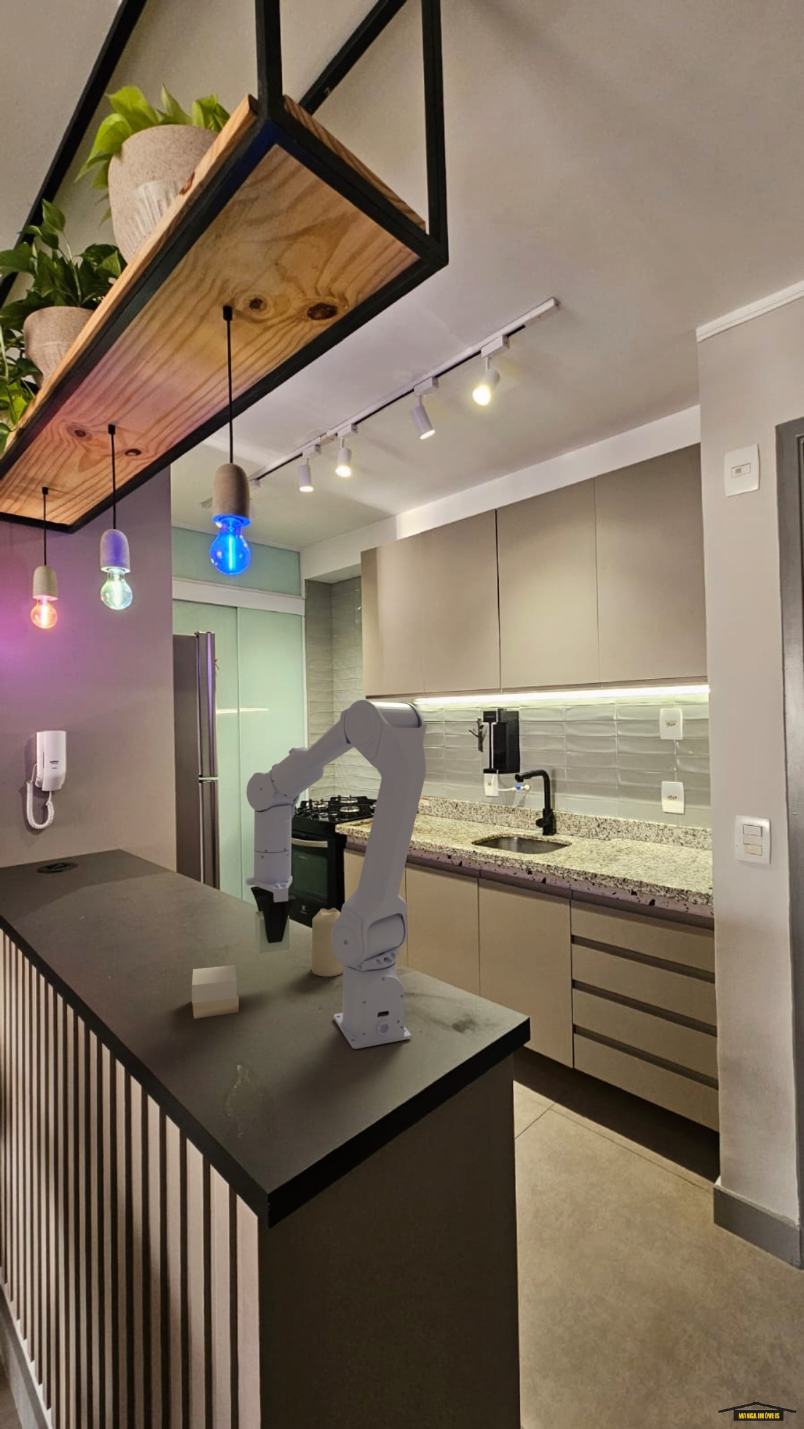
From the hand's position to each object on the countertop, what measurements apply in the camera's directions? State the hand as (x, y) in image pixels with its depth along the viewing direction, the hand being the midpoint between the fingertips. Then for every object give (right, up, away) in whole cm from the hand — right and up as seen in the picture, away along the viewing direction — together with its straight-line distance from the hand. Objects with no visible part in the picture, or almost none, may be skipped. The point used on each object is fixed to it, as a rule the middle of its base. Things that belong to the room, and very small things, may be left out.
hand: (272, 936), depth 99 cm
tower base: (-7, -8, -7) cm, 13 cm away
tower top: (-7, -6, -7) cm, 11 cm away
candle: (+8, -8, +6) cm, 13 cm away
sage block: (0, -2, 0) cm, 2 cm away
